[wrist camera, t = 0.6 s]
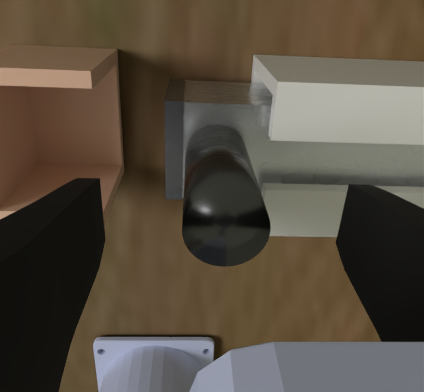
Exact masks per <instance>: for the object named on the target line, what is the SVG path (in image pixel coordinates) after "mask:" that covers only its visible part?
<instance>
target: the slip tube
mask: <svg viewBox="0 0 424 392" xmlns="http://www.w3.org/2000/svg"><path fill="white" fill-rule="evenodd" d="M272 98H273V95H272V93H271V92H270V91H269V89H268V88H267V87H266V85H265V84H264V83H242V82H216V81H189V80H185V79H171V78H170V81H169V85H168V89H167V93H166V97H165V199H180V200H182V198H184V201H183V224H182V234H183V239H184V242H185V244H186V246H187V248H188V249H189V251H190V252H191V253H192V254H193V255H194V256H195V257H197V258H198V259H200V260H201V261H203V262H205V263H208V264H211V265H215V266H234V265H238V264H242V263H244V262H246V261H248V260H250V259H252V258H253V257H255V256H256V255H257V254H258V253H259V252H260V251H261V250H262V249H263V248H264V246H265V245H266V243H267V241H268V238H269V235H270V229H271V225H270V219H269V215H268V212H267V209H266V206H265V203H264V200H263V197H262V186H263V183H279V184H322V185H349V184H365V185H372V186H409V187H424V145H408V144H374V143H339V142H305V141H271V140H270V138H269V136H268V133H269V124H270V115H271V106H272Z"/></svg>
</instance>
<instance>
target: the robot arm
mask: <svg viewBox="0 0 424 392" xmlns="http://www.w3.org/2000/svg"><path fill="white" fill-rule="evenodd" d="M104 243H105V230H104V219H103V208H102V196H101V185H100V178H76V179H74V180H72V181H70V182H68V183H66V184H64V185H63V186H61V187H59V188H57V189H56V190H54V191H52V192H50V193H49V194H47V195H45V196H43V197H42V198H40V199H38V200H37V201H35V202H33V203H31V204H29V205H27V206H25V207H23V208H21V209H20V210H18V211H16V212H14V213H12V214H10V215H8V216H6V217H4V218H2V219H0V392H58V391H59V387H60V383H61V379H62V375H63V371H64V367H65V363H66V359H67V356H68V352H69V348H70V344H71V341H72V338H73V335H74V332H75V329H76V327H77V324H78V322H79V319H80V316H81V314H82V311H83V309H84V306H85V304H86V301H87V298H88V296H89V293H90V291H91V288H92V285H93V283H94V280H95V277H96V275H97V272H98V269H99V266H100V262H101V257H102V253H103V248H104ZM336 245H337V248H338V251H339V255H340V258H341V261H342V263H343V266H344V269H345V271H346V273H347V275H348V277H349V279H350V281H351V283H352V285H353V287H354V289H355V291H356V293H357V295H358V297H359V298H360V300H361V302H362V304H363V306H364V308H365V310H366V312H367V314H368V315H369V317H370V319H371V321H372V323H373V325H374V327H375V329H376V331H377V333H378V335H379V337H380V339H381V341H382V342H267V343H262V344H257V345H251V346H246V347H241V348H236V349H232V350H230V351H228V352H227V353H225V354H224V355H222V356H221V357H219V358H218V359H216V360H215V361H214V362H213V358H214V340H213V339H212V338H210V337H98V338H96V339H95V340H94V344H93V349H94V357H95V365H96V373H97V382H98V390H99V392H424V208H422V207H419V206H417V205H415V204H413V203H411V202H409V201H407V200H405V199H403V198H401V197H399V196H397V195H394V194H392V193H390V192H388V191H386V190H383V189H381V188H378V187H376V186H372V185H365V184H349V185H348V190H347V194H346V199H345V203H344V208H343V212H342V217H341V221H340V226H339V231H338V235H337V240H336ZM100 349H103V350H100ZM204 349H208V350H204Z"/></svg>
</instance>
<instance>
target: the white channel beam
mask: <svg viewBox="0 0 424 392" xmlns="http://www.w3.org/2000/svg"><path fill="white" fill-rule="evenodd" d="M251 83H264V84H265V85H266V87H267V88H268V89H269V91H270V92H271V93H272V95H273V98H272V106H271V115H270V124H269V133H268V136H269V138H270V140H271V141H305V142H339V143H374V144H408V145H424V62H420V61H396V60H372V59H348V58H324V57H300V56H276V55H253V67H252V78H251ZM376 187H378V188H381V189H383V190H386V191H388V192H390V193H392V194H394V195H397V196H399V197H401V198H403V199H405V200H407V201H409V202H411V203H413V204H415V205H417V206H419V207H422V208H424V187H409V186H376ZM347 190H348V185H322V184H279V183H263V186H262V197H263V200H264V203H265V206H266V209H267V212H268V215H269V219H270V225H271V229H270V235H269V236H306V237H337V235H338V231H339V226H340V221H341V217H342V212H343V208H344V203H345V199H346V194H347Z"/></svg>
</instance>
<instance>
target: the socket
mask: <svg viewBox="0 0 424 392" xmlns="http://www.w3.org/2000/svg"><path fill="white" fill-rule="evenodd" d="M123 173H124V156H123V139H122V122H121V104H120V87H119V70H118V52H117V49H108V48H84V47H60V46H36V45H12V44H11V45H8V46H5V47H2V48H0V219H2V218H4V217H6V216H8V215H10V214H12V213H14V212H16V211H18V210H20V209H21V208H23V207H25V206H27V205H29V204H31V203H33V202H35V201H37V200H38V199H40V198H42V197H43V196H45V195H47V194H49V193H50V192H52V191H54V190H56V189H57V188H59V187H61V186H63V185H64V184H66V183H68V182H70V181H72V180H74V179H76V178H100V185H101V196H102V208H103V219H104V225H105V222H106V219H107V216H108V214H109V211H110V208H111V206H112V203H113V200H114V198H115V195H116V192H117V189H118V187H119V184H120V181H121V179H122V176H123Z"/></svg>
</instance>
